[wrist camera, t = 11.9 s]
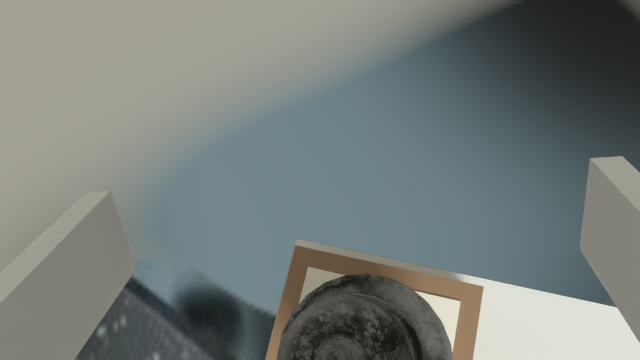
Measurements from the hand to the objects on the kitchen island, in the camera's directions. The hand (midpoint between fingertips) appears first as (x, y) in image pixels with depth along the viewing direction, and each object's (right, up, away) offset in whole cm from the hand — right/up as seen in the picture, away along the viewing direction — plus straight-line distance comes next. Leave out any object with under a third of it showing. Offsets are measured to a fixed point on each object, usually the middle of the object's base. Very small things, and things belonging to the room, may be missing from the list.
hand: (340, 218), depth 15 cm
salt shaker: (+1, -6, +6) cm, 9 cm away
